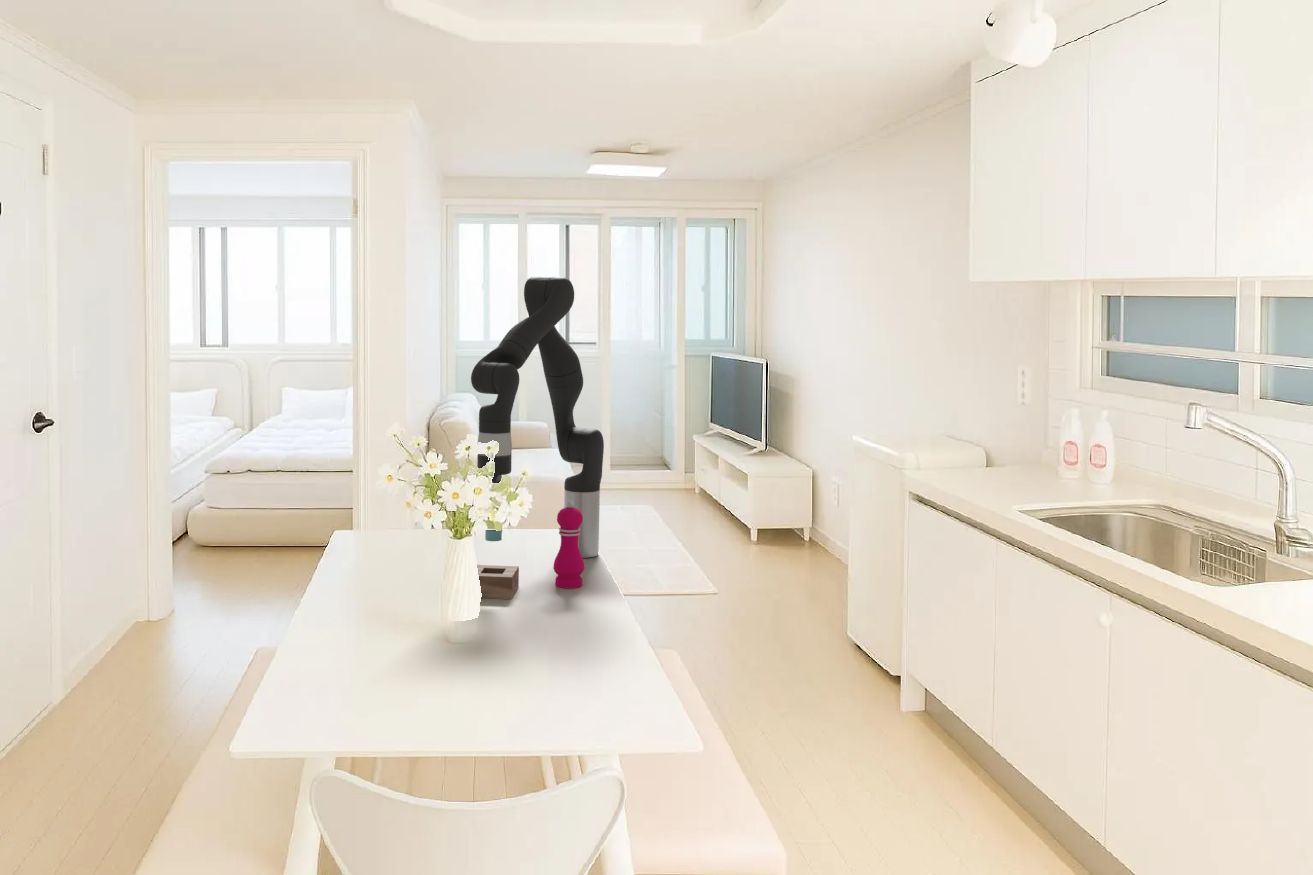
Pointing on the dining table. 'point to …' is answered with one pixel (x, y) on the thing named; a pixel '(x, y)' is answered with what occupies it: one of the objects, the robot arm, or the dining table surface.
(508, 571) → the socket block
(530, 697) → the dining table surface
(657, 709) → the dining table surface
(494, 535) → the peg
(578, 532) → the pepper mill
